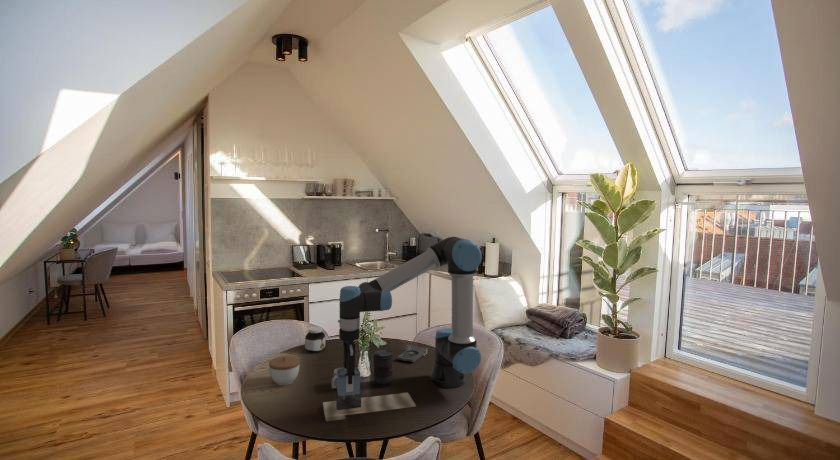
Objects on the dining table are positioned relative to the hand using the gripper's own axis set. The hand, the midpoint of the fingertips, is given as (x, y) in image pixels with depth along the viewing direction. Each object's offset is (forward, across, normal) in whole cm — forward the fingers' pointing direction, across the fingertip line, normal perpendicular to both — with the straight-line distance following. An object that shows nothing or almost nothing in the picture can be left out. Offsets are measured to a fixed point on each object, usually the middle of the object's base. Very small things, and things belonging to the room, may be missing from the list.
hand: (348, 388), depth 170 cm
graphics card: (+9, -47, +38) cm, 61 cm away
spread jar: (+9, -69, -8) cm, 70 cm away
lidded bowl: (+9, -32, -23) cm, 40 cm away
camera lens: (+9, -17, +17) cm, 26 cm away
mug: (+9, -21, -1) cm, 23 cm away
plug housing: (+2, 0, 0) cm, 2 cm away
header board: (+9, 0, +8) cm, 12 cm away
